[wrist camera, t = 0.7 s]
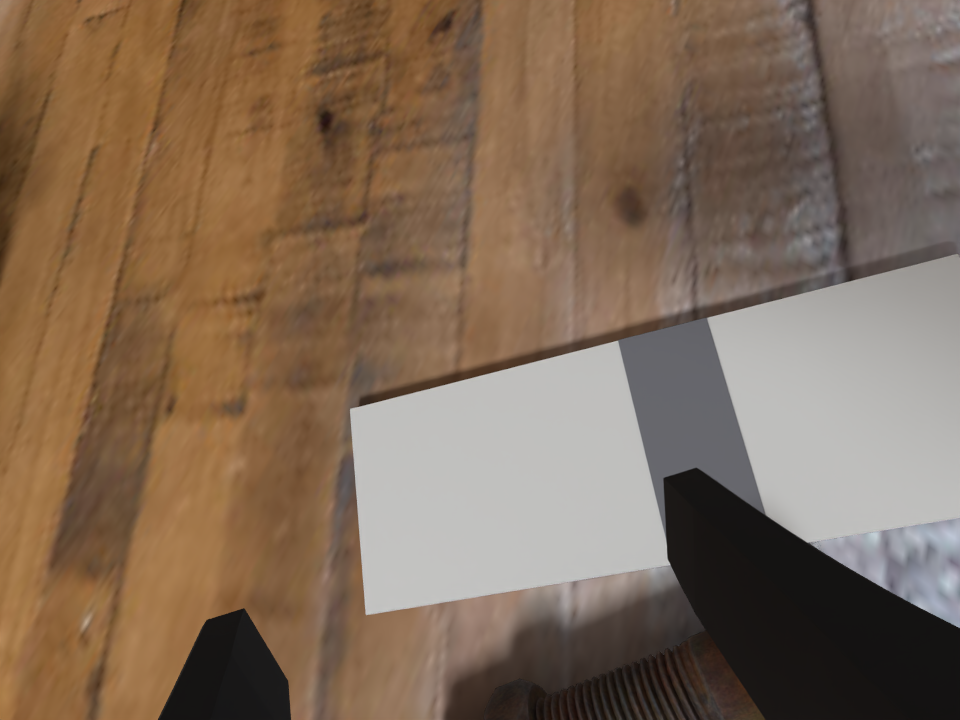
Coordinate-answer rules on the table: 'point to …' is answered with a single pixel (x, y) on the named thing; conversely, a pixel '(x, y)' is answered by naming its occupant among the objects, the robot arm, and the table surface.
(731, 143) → the table surface
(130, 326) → the table surface
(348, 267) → the table surface
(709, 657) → the bolt
